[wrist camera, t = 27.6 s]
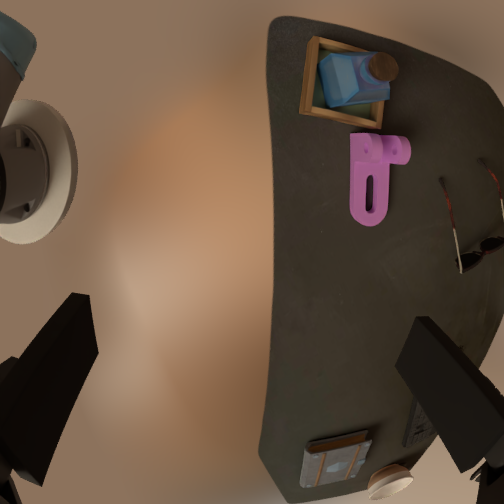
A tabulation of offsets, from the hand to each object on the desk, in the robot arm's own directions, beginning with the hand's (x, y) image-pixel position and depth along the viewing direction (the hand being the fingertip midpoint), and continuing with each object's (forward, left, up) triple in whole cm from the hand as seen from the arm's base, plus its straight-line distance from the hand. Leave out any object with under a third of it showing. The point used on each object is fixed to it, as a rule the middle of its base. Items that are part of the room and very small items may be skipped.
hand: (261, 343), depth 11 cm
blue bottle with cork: (+12, +17, -30) cm, 37 cm away
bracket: (+18, +5, -31) cm, 36 cm away
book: (+31, -62, -31) cm, 76 cm away
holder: (+12, +17, -31) cm, 37 cm away
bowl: (+58, -82, -31) cm, 105 cm away
